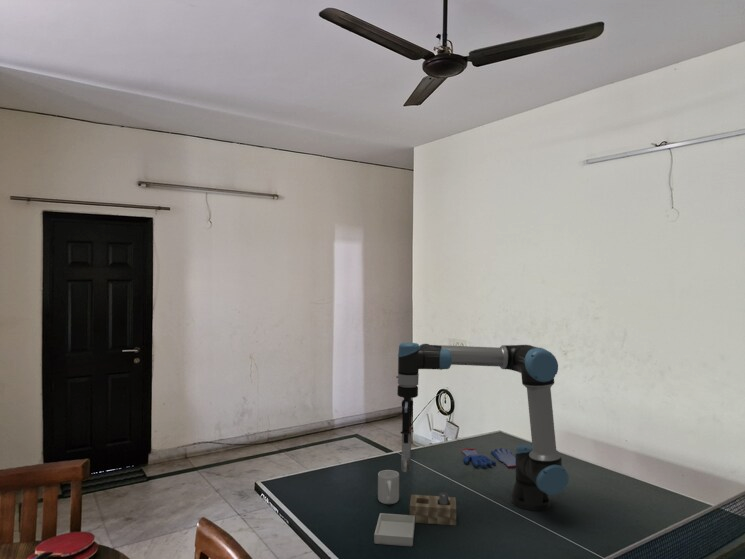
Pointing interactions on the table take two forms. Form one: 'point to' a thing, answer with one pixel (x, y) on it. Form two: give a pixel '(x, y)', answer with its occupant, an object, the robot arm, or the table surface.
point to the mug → (388, 486)
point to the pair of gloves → (484, 461)
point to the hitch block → (433, 510)
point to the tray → (395, 529)
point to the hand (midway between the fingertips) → (406, 449)
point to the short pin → (443, 498)
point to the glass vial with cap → (406, 459)
